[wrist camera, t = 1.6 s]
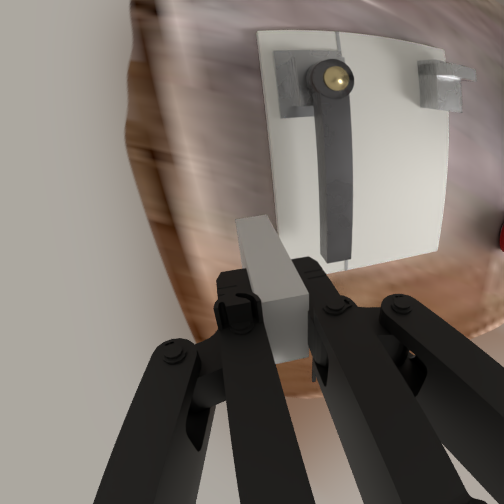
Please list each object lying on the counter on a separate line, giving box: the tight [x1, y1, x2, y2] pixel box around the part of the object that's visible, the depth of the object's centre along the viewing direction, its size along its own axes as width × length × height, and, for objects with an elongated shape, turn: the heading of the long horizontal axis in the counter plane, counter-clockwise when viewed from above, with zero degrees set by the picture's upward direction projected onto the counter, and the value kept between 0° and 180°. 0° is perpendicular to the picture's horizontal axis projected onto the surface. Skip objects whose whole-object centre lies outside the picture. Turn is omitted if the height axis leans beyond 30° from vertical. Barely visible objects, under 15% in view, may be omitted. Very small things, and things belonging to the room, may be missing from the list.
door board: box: [256, 30, 449, 274], centre depth 26 cm, size 20×24×1 cm
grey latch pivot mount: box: [272, 50, 345, 119], centre depth 21 cm, size 6×6×3 cm
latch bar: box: [306, 59, 354, 264], centre depth 21 cm, size 16×3×2 cm, turn 7°
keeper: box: [417, 59, 477, 113], centre depth 21 cm, size 4×5×5 cm
